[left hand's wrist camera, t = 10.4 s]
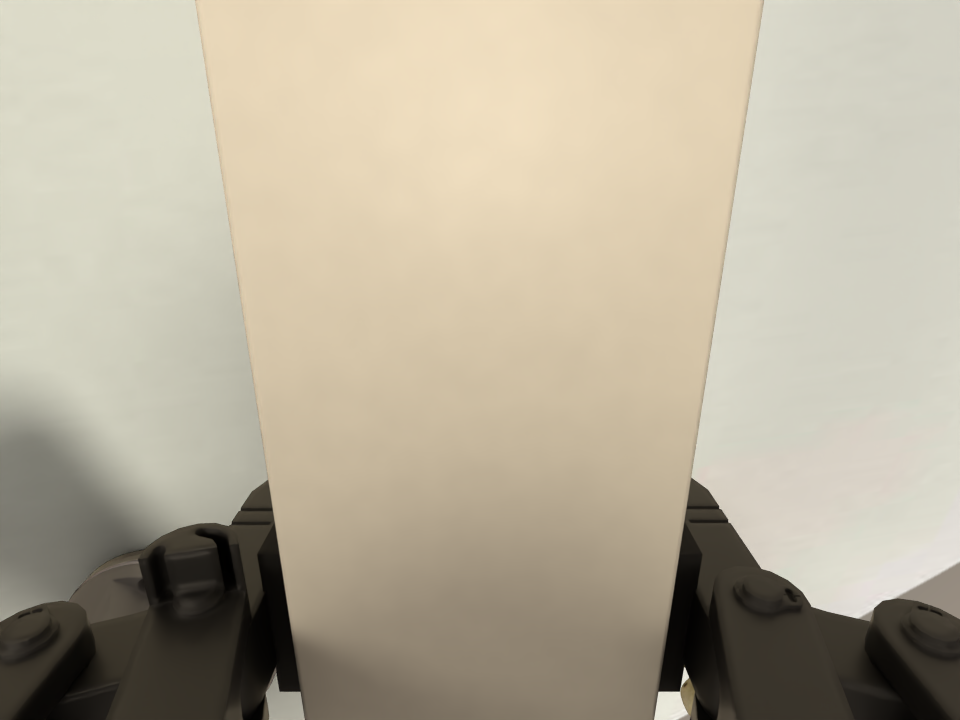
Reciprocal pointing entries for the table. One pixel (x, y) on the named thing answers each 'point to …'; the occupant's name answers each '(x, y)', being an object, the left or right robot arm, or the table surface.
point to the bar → (479, 331)
